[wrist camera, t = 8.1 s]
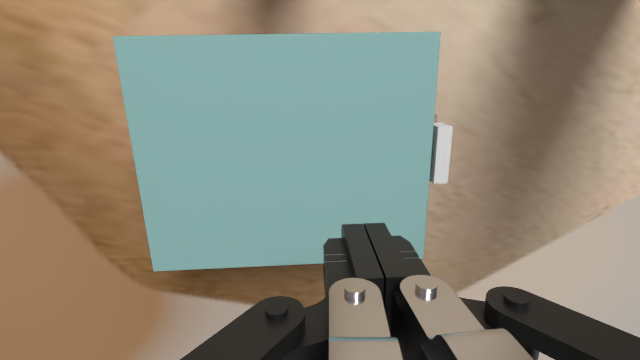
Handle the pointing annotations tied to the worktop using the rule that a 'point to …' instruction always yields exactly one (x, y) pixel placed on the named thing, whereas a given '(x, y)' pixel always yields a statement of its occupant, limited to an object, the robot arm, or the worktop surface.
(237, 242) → the lid
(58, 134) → the worktop surface
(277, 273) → the worktop surface
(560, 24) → the worktop surface
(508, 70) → the worktop surface
